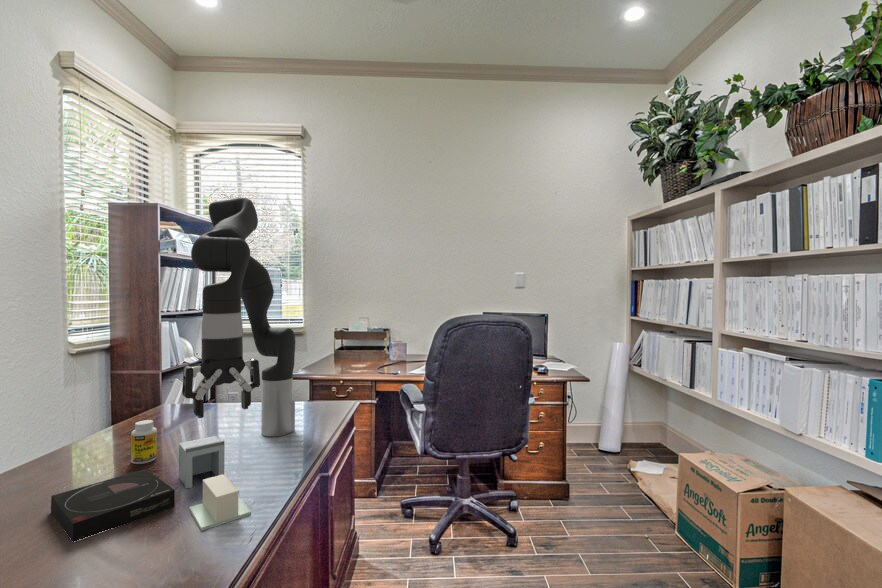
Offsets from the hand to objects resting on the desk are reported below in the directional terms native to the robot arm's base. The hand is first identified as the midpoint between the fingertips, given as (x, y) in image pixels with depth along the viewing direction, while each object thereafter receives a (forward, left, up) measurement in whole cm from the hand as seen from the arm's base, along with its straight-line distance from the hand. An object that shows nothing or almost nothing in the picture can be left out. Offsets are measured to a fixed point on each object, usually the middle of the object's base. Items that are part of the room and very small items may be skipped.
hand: (223, 412), depth 88 cm
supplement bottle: (+9, -40, -20) cm, 46 cm away
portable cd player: (+17, -14, -21) cm, 30 cm away
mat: (+1, +1, -20) cm, 20 cm away
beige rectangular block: (+1, +1, -19) cm, 19 cm away
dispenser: (0, -19, -20) cm, 28 cm away
